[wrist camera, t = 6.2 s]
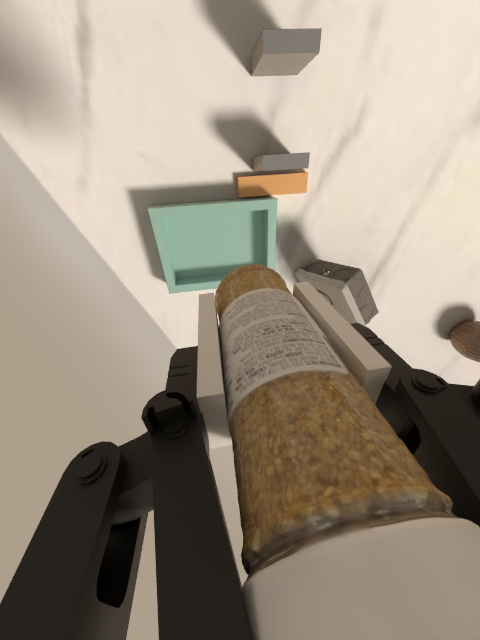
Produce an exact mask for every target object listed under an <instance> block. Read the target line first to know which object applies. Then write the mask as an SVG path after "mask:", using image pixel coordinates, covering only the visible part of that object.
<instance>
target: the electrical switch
mask: <svg viewBox="0 0 480 640" xmlns="http://www.w3.org/2000/svg"><path fill="white" fill-rule="evenodd" d="M324 269H325V270H324ZM323 270H324V271H323ZM350 270H351V271H350ZM327 271H330V272H329V273H328V272H327ZM295 275H296V277H297V278H298V280H299V282H305V281H308V282H309V283H310V284H311V285H312V286H313V287H314V288H315V289H316V290H317V291H318V292H319V293H320V294H321V295H322V296H323V297H324V298H325V299H326V300H327V301H328V302H329V303H330V304H331V305H332V307H333V308H334V309H335V310H336V311H337V312H338V313H339V314H340V315H341V316H342V317H343V318H344V319H345V320H346V321H347V322H348V323H349V324H352V323H359V324H361V325H363V326H365V327H366V324H367V323H369V322H370V320H371V319H372V318H373V317H374V316H375V315H376V314H377V313H378V309H377V307H376V304H375V302H374V299H373V297H372V294H371V292H370V289H369V287H368V284H367V282H366V279H365V277H364V274H363V272H362V270H360V269H359V268H354V267H349V266H345V265H340V264H336V263H331V262H327V261H322V260H317V261H316V262H315V263H314V264H312V265H311V266H310V267H308V268H307V269H306V270H304V269H301V268H299V269H298V270H297V271H296V272H295ZM355 299H356V301H355Z"/></svg>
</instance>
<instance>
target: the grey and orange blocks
mask: <svg viewBox="0 0 480 640" xmlns="http://www.w3.org/2000/svg"><path fill="white" fill-rule="evenodd" d="M320 40H321V29H263V31H262V34H261V36H260V38H259V41H258V43H257V45H256V47H255V50H254V52H253V54H252V57H251V75H252V76H274V75H297V74H298V73H299V72H300V71H301V70H302V69H303V68H304V67H305V66H306V65H307V64H308V63H309V62H310V61H311V60H312V59H313V58H314V57H315V56H316V55H317V54H318V53H319V50H320ZM309 154H310V152H309V153H292V154H276V155H262V156H257V157H253V171H271V170H286V169H301V168H308V164H309ZM307 178H308V172H304V173H289V174H275V175H260V176H245V177H238V197H239V198H241V197H254V196H268V195H281V194H294V193H306V188H307Z"/></svg>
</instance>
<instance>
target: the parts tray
mask: <svg viewBox="0 0 480 640" xmlns="http://www.w3.org/2000/svg"><path fill="white" fill-rule="evenodd" d="M148 212H149V216H150V220H151V224H152V228H153V232H154V236H155V240H156V243H157V247H158V251H159V255H160V259H161V263H162V267H163V271H164V275H165V279H166V283H167V287H168V290H169V294H170V293H179V292H188V291H197V290H207V289H216V288H218V286H219V284H220V283H221V281H222V280H223V278H224V277H225V276H226V275H227V274H228V273H229V272H231V271H233V270H235V269H236V268H238V267H241V266H245V265H255V264H260V265H263V266H266V267H268V268H271V269H273V270H274V271H275V253H276V225H277V198H274V197H259V198H246V199H232V200H219V201H206V202H193V203H180V204H167V205H153V206H151V207H149V208H148Z"/></svg>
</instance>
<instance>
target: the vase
mask: <svg viewBox="0 0 480 640" xmlns="http://www.w3.org/2000/svg"><path fill="white" fill-rule="evenodd" d="M450 340H451V344H452V345H453V347H454V348H455V349H456V350H457V351H458V352H459V353H460V354H462V355H463V356H465V357H467V358H469V359H471V360H474V361H477V362H480V322H479V321H470V322H464V323H461V324H459V325H458V326H456V327H455V328H454V329H453V330H452V332H451V335H450Z"/></svg>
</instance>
